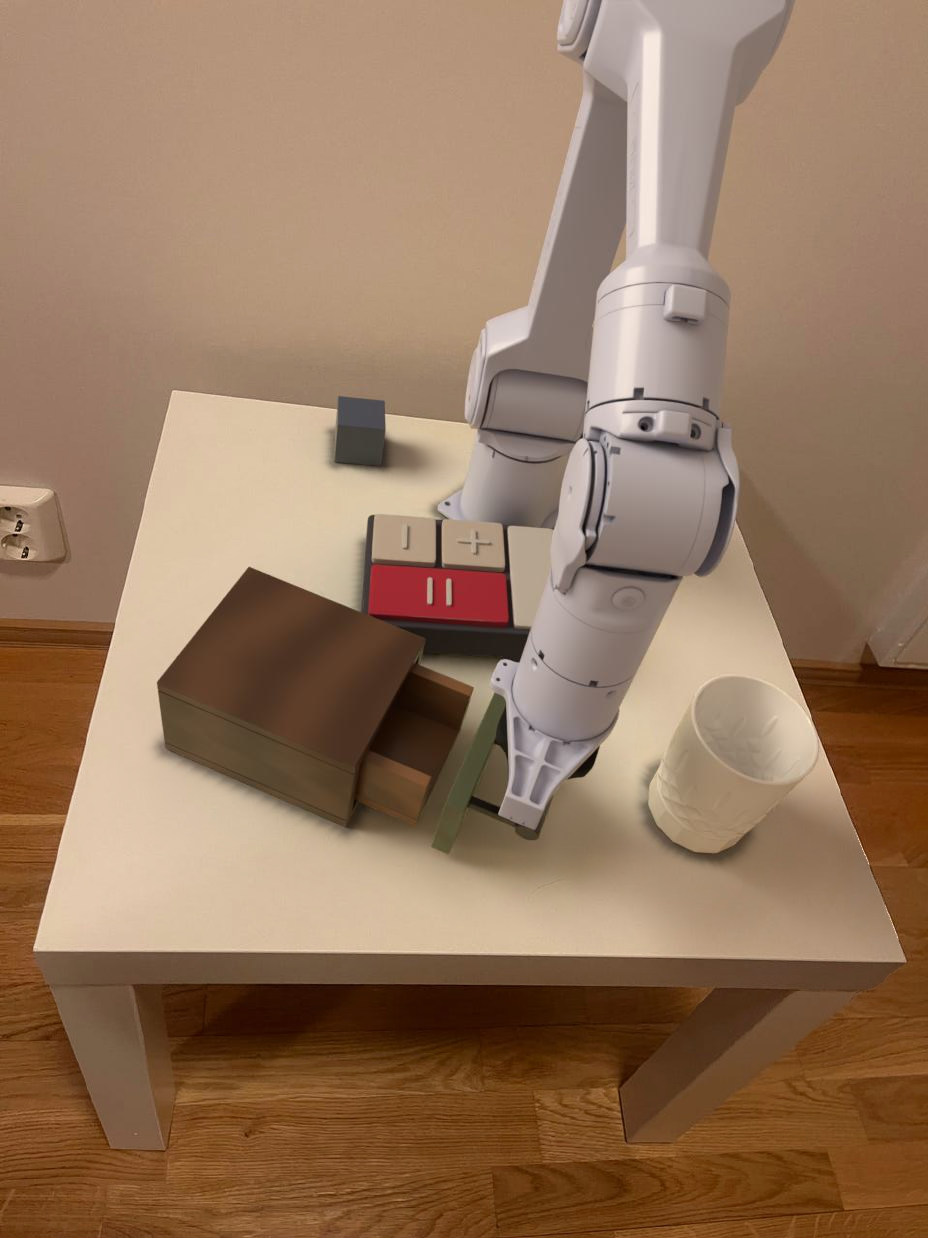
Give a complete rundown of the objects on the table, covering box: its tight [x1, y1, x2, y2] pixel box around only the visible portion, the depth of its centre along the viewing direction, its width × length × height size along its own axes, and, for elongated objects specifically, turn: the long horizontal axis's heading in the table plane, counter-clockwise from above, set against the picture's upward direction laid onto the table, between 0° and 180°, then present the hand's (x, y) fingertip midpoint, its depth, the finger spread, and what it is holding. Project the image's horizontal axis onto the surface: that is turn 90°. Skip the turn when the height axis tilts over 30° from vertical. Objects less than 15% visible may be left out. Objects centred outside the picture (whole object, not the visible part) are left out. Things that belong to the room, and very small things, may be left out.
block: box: [333, 395, 387, 467], centre depth 78 cm, size 4×4×4 cm
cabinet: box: [156, 566, 426, 828], centre depth 58 cm, size 13×11×7 cm
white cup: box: [647, 673, 820, 854], centre depth 58 cm, size 8×8×10 cm
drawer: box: [354, 663, 555, 855], centre depth 57 cm, size 16×9×5 cm, turn 69°
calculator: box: [360, 513, 555, 663], centre depth 68 cm, size 11×4×15 cm
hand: (526, 789), depth 55 cm, fingers closed, pressing on drawer
